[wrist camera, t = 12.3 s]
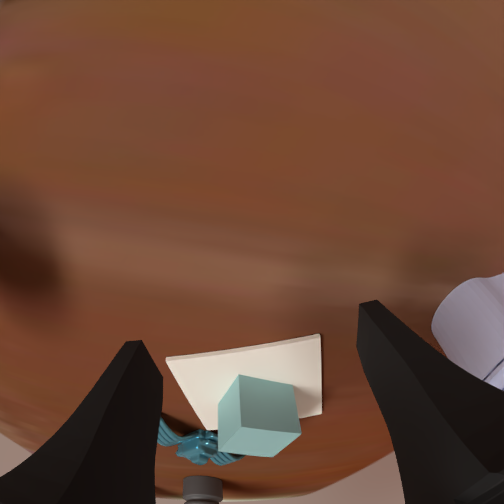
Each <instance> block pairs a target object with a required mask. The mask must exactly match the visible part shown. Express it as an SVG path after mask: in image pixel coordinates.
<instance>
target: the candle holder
mask: <svg viewBox="0 0 504 504" xmlns="http://www.w3.org/2000/svg"><path fill="white" fill-rule="evenodd" d="M183 499H185V500H186V501H187V502H185V503H184V504H219V502H221V501H222V500H223V490H222V481H221V480H220V479H218V478H215V477H209V476H190V477H186V478H184V479H183Z"/></svg>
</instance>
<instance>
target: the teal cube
mask: <svg viewBox="0 0 504 504" xmlns="http://www.w3.org/2000/svg"><path fill="white" fill-rule="evenodd" d="M301 434H302V433H301V428H300V422H299V417H298V412H297V406H296V401H295V396H294V390H293V385H291V384H285V383H280V382H274V381H269V380H264V379H259V378H254V377H249V376H245V375H240V374H238V376H237V377H236V379H235V380H234V382H233V383H232V385H231V386H230V387H229V389H228V390H227V392H226V393H225V395H224V396H223V398H222V399H221V400H220V402H219V403H218V451H220V452H227V453H235V454H243V455H252V456H263V457H273V456H275V455H276V454H277V453H278V452H280V451H281V450H282V449H283V448H285V447H286V446H287V445H288V444H290V443H291V442H292V441H293V440H295V439H296V438H297V437H298V436H299V435H301Z"/></svg>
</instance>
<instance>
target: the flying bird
mask: <svg viewBox="0 0 504 504" xmlns="http://www.w3.org/2000/svg"><path fill="white" fill-rule="evenodd" d="M157 442H158V443H159V444H160V445H162V446H172V445H176V444H179V443H182V444H179V445H178V450H177V452H176V454H177V456H179V457H185V458H187V459H189V460H191V462H193V463H195V464H198V465H203V464H206V463H207V461H208V458H210V459H211V460H212V461H213V462H214V463H215V464H217V465H220V466H221V465H226V464H229V463H232V462H235V461H238V460H240V459H242V458H243V457H244V456H246V455H243V454H236V455H232V454H230V453H227V452H220V451H218V434H216V433H213V432H211V431H204V430H202V429H199V430H196V431H194V432H192V433H189V434H187V435H184V436H178V435H176V434H175V433H174V432H173V431H172V430H171V429H170V428H169V427H168V425H167V424H166V423H165V421H164V420H163V419H162V417H161V418H160V425H159V432H158V440H157Z"/></svg>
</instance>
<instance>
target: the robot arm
mask: <svg viewBox="0 0 504 504" xmlns="http://www.w3.org/2000/svg"><path fill="white" fill-rule="evenodd" d="M431 329H432V333H433V335H434V336H435V338H436V340H437V341H438V343H439V344H440V346H441V348H442V349H443V351H444V353H445V354H446V356H447V358H446V357H445V356H444V355H442V354H441V353H440V352H438V351H437V350H435V349H434V348H433V347H432V346H430V345H429V344H428V343H427V342H425V341H424V340H423V339H422V338H421V337H419V336H418V335H417V334H416V333H414V332H413V331H412V330H411V329H410V328H409V327H407V326H406V325H405V324H404V323H403V322H402V321H401V320H399V319H398V318H397V317H396V316H395V315H394V314H393V313H391V312H390V311H389V310H388V309H387V308H386V307H385V306H384V305H382V304H381V303H380V302H379V301H378V300H373V301H369V302H365V303H361V304H359V319H358V333H357V345H356V346H357V350H358V353H359V357H360V360H361V363H362V366H363V370H364V373H365V375H366V377H367V380H368V382H369V384H370V387H371V389H372V391H373V394H374V396H375V398H376V401H377V403H378V405H379V408H380V410H381V412H382V415H383V417H384V419H385V422H386V424H387V427H388V430H389V433H390V436H391V440H392V443H393V447H394V451H395V454H396V459H397V463H398V467H399V472H400V476H401V481H402V487H403V492H404V498H405V504H504V273H502V274H500V275H497V276H494V277H490V278H473V279H470V280H467V281H465V282H463V283H462V284H460V285H459V286H457V287H456V288H455V289H454V290H452V291H451V292H450V293H449V294H448V295H447V296H446V298H445V299H444V300H443V301H442V302H441V304H440V305H439V307H438V308H437V310H436V312H435V314H434V317H433V320H432V325H431ZM162 403H163V376H162V375H161V373H160V371H159V370H158V368H157V366H156V365H155V363H154V361H153V359H152V358H151V356H150V354H149V352H148V351H147V349H146V347H145V345H144V343H143V342H142V340H137V341H127V342H125V344H124V345H123V346H122V348H121V349H120V350H119V352H118V353H117V354H116V356H115V357H114V359H113V360H112V362H111V363H110V364H109V366H108V367H107V369H106V370H105V371H104V373H103V374H102V376H101V377H100V378H99V380H98V381H97V383H96V384H95V386H94V387H93V388H92V390H91V391H90V392H89V394H88V395H87V396H86V397H85V399H84V400H83V401H82V403H81V404H80V405H79V407H78V408H77V409H76V410H75V412H74V413H73V414H72V415H71V416H70V418H69V419H68V420H67V421H66V422H65V423H64V424H63V425H62V427H61V428H60V429H59V430H58V431H57V432H56V433H55V434H54V435H53V436H52V437H51V438H50V439H49V440H48V441H47V442H46V443H45V444H43V445H42V446H41V447H40V448H39V449H38V450H37V451H36V452H35V453H34V454H32V455H31V456H30V457H29V458H27V459H26V460H25V461H24V462H22V463H21V464H20V465H18V466H17V467H15V468H14V469H13V470H11V471H10V472H8V473H6V474H5V475H3V476H1V477H0V504H156V502H155V469H154V468H155V455H156V447H157V440H158V432H159V425H160V418H161V411H162Z"/></svg>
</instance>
